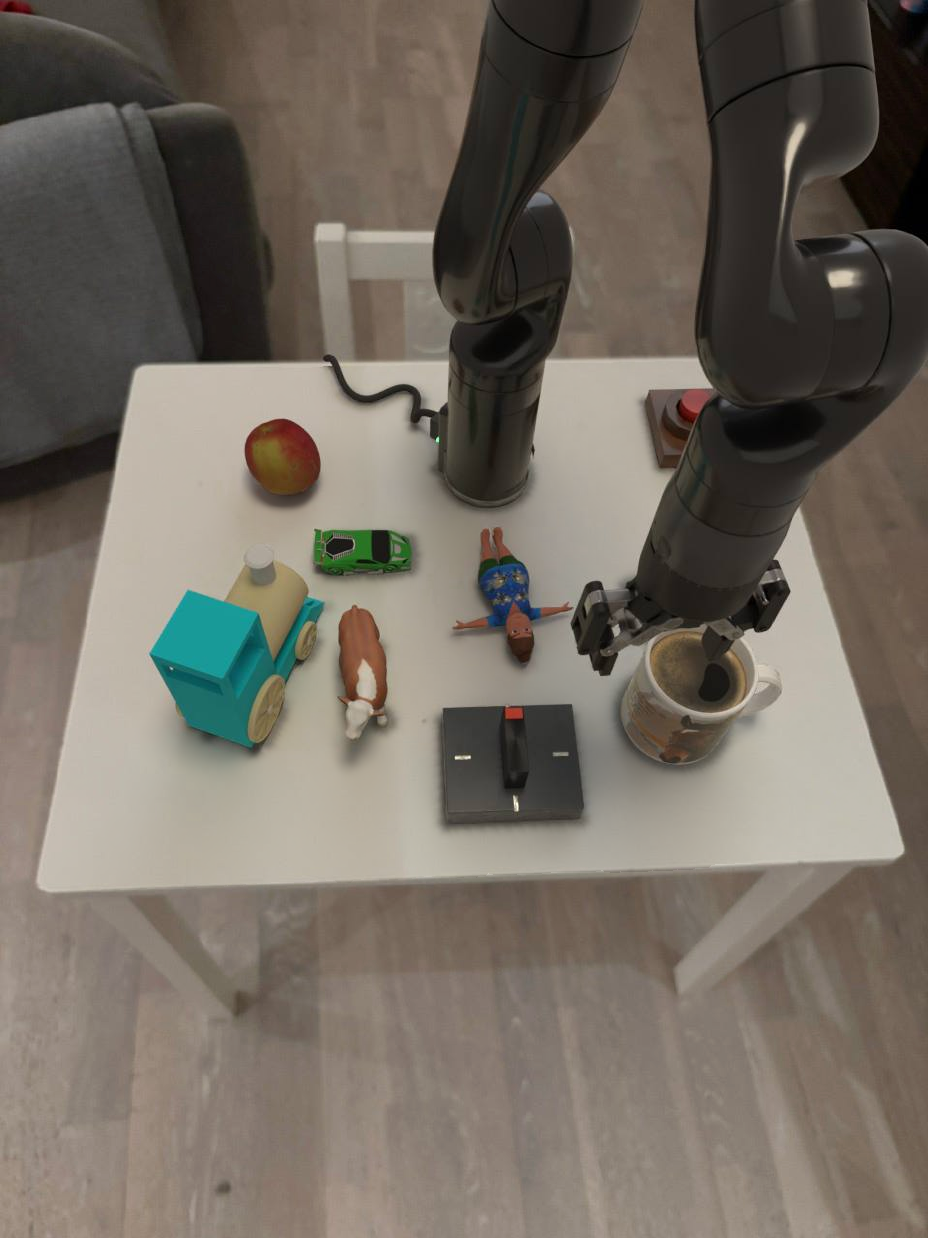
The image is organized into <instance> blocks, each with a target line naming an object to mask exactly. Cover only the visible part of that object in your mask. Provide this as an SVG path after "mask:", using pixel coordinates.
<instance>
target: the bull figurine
mask: <svg viewBox="0 0 928 1238" xmlns="http://www.w3.org/2000/svg"><path fill="white" fill-rule="evenodd" d="M337 630H338V635H337V642H338V645H339V647H340V649H339V650H340V651H339V657H338V666H339V670H340V672H341V676H342V683H343V687H344V695H345V697H344V696H340V695H338V696H337V699H338V700H339V701H340V702H341V703H342V704H343V705H345V706H346V707H347V709H346V710H345V719H346V724H347V725H346V730H345V731H344V736H345V737H346V738H347V739H350V740H352V741H356V740H358V739H360V737H361V735H362V732H363V730H364V728H365V727H366V726H367V724H368V723H369V720H370V718H371V717H376V724H377V726H379V727H381V728H384V727H386V726H387V725H388V723H389V720H388V718H387V715H386V714H387V713H385V710H386V704H385V703H386V701H387V698H388V682H387V678H388V677H387V675H388V673H387V672H388V669H387V667H388V666H387V656H386V653H385V650H384V647H383V645H382V644H381V642H380V641H379V640H380V637H381V632H380V629H379V627H378V625H377V623H376V620H375V618H374V616H373V615H372V613H371V612H370V611H369V610H368V609H365V608H363V607H360V608H359V607H358V605H357V604H353V605H351V609H348V610H345V611H344V612H343V613H342V614H341V617H340V620H339V623H338V629H337Z"/></svg>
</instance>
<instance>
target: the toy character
mask: <svg viewBox="0 0 928 1238" xmlns="http://www.w3.org/2000/svg"><path fill="white" fill-rule="evenodd" d="M503 539H504V533H503V530H502V528H501V526H495V527H493V530H492V542H493V544H494V546H495V549H496V554H497V557H496V556H495V553H494V551H493V549H492V546H491V531H490V529H489V528H486V527H485V528H484V529H482V530H481V531H480V544H481V547H482V548H481V549H482V550H481V555H480V562H479V568H478V574H477V582H478V586H479V589H480V590H481V592H482V594H483V596H484V597H485V599H486V600H488V601H489V602H490V604H491V607H492V614H491V615H487V616H484V617H483V616H482V617H480V618H477V619H473V620H471V621H468V622H462V621H459V620H457V619H456V620H455V622H456V624H458V625H455V626H453V627H452V631H460V630H465V629H469V630H470V629H481V628H482V629H483V628H495V627H496V628H499V627H506V634H507V635H506V641H507V644H508V647H509V649H510V652H511V654H512V656H514V657H515V658H516V660H517V661H518V663H520V664H527V663H529V662H530V660H531V657H532V653H533V650H534V647H535V636H534V632H533V629H532V626H531V622H533V621H536V620H539V619H543V618H546V617H551V616H555V615H559V614H560V613H567V612H570V611H572V610H574V608H575V607H574V606H568V605H569V604H570V601H567V602H566V603H565V604H563V605H562V606H554V607H553V606H547V607H546V606H545V607H532V606H531V603H530V597H529V589H530V575H529V570H528V568H527V567H526V565H525V564H524V562H523V561H520V560H518V559H517V558H516V556H514V554H513V553H512V552H511V551H510V550H509V548H508V547H507V545H506V544H504V540H503Z"/></svg>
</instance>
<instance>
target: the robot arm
mask: <svg viewBox="0 0 928 1238" xmlns="http://www.w3.org/2000/svg"><path fill="white" fill-rule="evenodd" d="M644 3H645V0H487V3H486V7H485V8H486V9H485V14H484V19H483V23H482V29H481V36H480V37H481V38H480V43H479V49H478V56H477V63H476V71H475V76H474V81H473V85H472V89H471V90H472V91H471V94H470V99H469V105H468V110H467V113H466V118H465V123H464V126H463V132H462V135H461V140H460V144H459V148H458V153H457V155H456V160H455V163H454V166H453V169H452V173H451V176H450V179H449V182H448V186H447V189H446V191H445V194H444V198H443V200H442V204H441V208H440V210H439V213H438V217H437V221H436V224H435V228H434V234H433V240H432V248H431V249H432V250H431V254H432V255H431V265H432V276H433V281H434V285H435V288H436V289H435V290H436V292H437V295H438V298H439V300H440V302H441V304H442V305H443V307H444V309H445V310H446V311H447V312H448V314H449V315H450V316H451V317H452V318H454V319H455V320H456V321H455V323H454V325H453V326H452V329H451V332H450V334H449V335H450V336H449V341H448V342H449V343H448V371H447V372H448V373H447V376H448V377H447V378H448V379H447V401H446V402H445V403H444V404H443V405H442V406H441V407H440V408H439V411H436V410H433V409H430V408H421V406H422V395H421V393H420V391H419V390H418V389H417V387H415V386H414V385H411V384H408V383H400V384H394V385H392V386H390V387H388V388H386V389H383V390H381V391H379V392H375V393H374V394H369V395H364V394H360V393H358V392H356V391H355V390H353V389H352V388H351V387H350V385H349V384H348V382H347V381H346V378H345V376H344V373H343V370H342V368H341V366H340V363H339V361H338V359H337V358H336V356H335V355H332V354H330V353H329V354H325V355H323V357H322V360H323V361H324V362H327V363H329V364H331V367H332V369H333V370H332V371H333V372H334V375H335V378H336V380H337V383H338V384H339V386H340V388H341V389H342V391H343V392H344V393H345V394H346V395H347V397H349V398H350V399H352V400H353V401H355V402H357V403H362V404H372V403H376V402H379V401H382V400H383V399H386V398H389V397H391V396H393V395H396V394H398V393H402V392H405V393H409V394H410V395H412V398H413V403H412V408H411V412H410V421H411V423H413V424H419V422H420V421H421V419H422V417H426V418H430V419H429V437H430V438H431V439H432V440H434V441H435V442H437V470H438V472H440V473H442V474H443V478H444V481H445V483H446V486H447V487H448V489H449V490H450V492H451V493H452V494H453V495H454V496H455V497H457V498H458V499H459V500H461V501H463V502H465V503H466V504H469V505H473V506H477V507H481V508H495V507H499V506H503V505H506V504H508V503H511V502H512V501H514V500H516V499H517V498H518V497H520V495H521V494H522V493H523V492H524V490H525V488H526V487H527V484H528V480H529V473H530V462H531V456H532V459H534V458H535V451H536V449H535V445H534V438H535V432H536V425H537V419H538V414H539V406H540V401H541V400H540V399H541V394H542V386H543V381H544V380H543V379H544V374H545V368H546V361H547V359H548V357H549V356H550V355H551V353H552V352H553V350H554V349H555V346H556V344H557V342H558V337H559V334H560V330H561V325H562V320H563V317H564V316H563V315H564V313H565V308H566V304H567V299H568V295H569V291H570V285H571V282H572V274H573V263H574V250H573V239H572V233H571V230H570V224H569V222H568V219H567V216H566V215H565V212H564V210H563V208H562V207H561V205H560V203H559V202H558V201H557V199H555V197H553V195H551V194H550V193H549V192H547V191H546V190H544V189H542V188H541V187H542V186H543V185H544V183H545V182H546V181H547V180H548V179H549V177H550V176H551V175H552V174H553V173H554V172H555V171H556V169H557V168H558V167H559V166H560V165H561V164H562V162H563V161H564V160H565V159H566V158H567V157H568V156H569V155H570V153H571V152H572V151H573V150H574V149H575V147H576V146H577V145H578V144H579V142H580V141H581V140H582V139H583V138H584V136H585V135H586V134H587V133H588V131H589V130H590V128H592V126H593V124H594V123H595V122H596V120H597V119H598V117H599V116H600V114H601V113H602V112H603V110H604V108H605V107H606V105H607V103H608V102H609V99H610V97H611V96H612V93H613V91H614V89H615V86H616V84H617V81H618V79H619V77H620V73H621V71H622V68H623V66H624V63H625V59H626V57H627V54H628V51H629V48H630V45H631V42H632V40H633V37H634V34H635V31H636V28H637V26H638V23H639V20H640V18H641V17H640V16H641V14H642V11H643V7H644ZM693 3H694V4H693V5H694V9H693V16H694V17H693V25H694V26H693V28H694V42H695V51H696V57H697V65H698V72H699V81H700V89H701V94H702V103H703V104H702V105H703V109H704V110H703V111H704V117H705V118H704V119H705V125H706V130H707V131H706V132H707V139H708V140H707V141H708V146H709V157H710V162H709V164H710V165H709V185H708V196H707V197H708V199H707V212H706V213H707V214H706V222H705V223H706V224H705V233H704V234H705V235H704V244H703V251H702V252H703V253H702V260H701V266H700V274H699V280H698V286H697V294H696V302H695V311H694V324H693V325H694V328H693V330H694V332H693V333H694V343H695V350H696V355H697V359H698V362H699V365H700V367H701V370H702V372H703V374H704V377H705V378H706V380H707V381H708V382H709V384H710V386H711V388H714V389H715V391H716V392H715V393H714V394H713V395H712V396H711V397H710V398H709V399H708V400H707V401H706V402H705V403H704V405H703V406H702V408H701V410H700V412H699V413H698V416H697V418H696V420H695V422H694V424H693V427H692V429H691V432H690V434H689V437H688V440H687V442H686V445H685V448H684V450H683V453H682V456H681V458H680V461H679V464H678V466H677V467H676V469H675V471H674V472H673V473H672V475H671V477H670V478H669V480H668V482H667V484H666V486H665V487H664V490H663V492H662V494H661V497H660V500H659V503H658V505H657V508H656V511H655V514H654V516H653V519H652V522H651V524H650V527H649V531H648V532H647V536H646V538H645V541H644V544H643V546H642V549H641V552H640V555H639V559H638V564H637V571H636V575H635V576H634V577H633V578H632V580H629V581H630V582H629V581H628V582H629V583H628V584H627V585H626V584H625V586H624V588H618V589H607V590H606V589H604V585H603V582H602V581H600V580H592V581H589V582H587V583H585V586H584V588H583V590H582V593H581V595H580V597H579V600H578V603H577V605H576V608H575V611H574V613H573V615H572V618H571V621H570V628H571V630H572V632H573V636H574V641H575V644H576V652H577V654H578V655H579V656H589V660H590V664H591V668H592V670H593V672H598V675H599V677H608V676H611V675H612V672H613V669H614V667H615V665H616V662H617V659H618V657H619V652H620V651H622V650H624V649H625V648H627V647H628V646H630V645H632V646H635V647H640V646H642V645H644V644H646V643H648V642H649V640H650V639H652V638H654V637H655V636H657V635H658V634H660V633H662V632H666V631H671V630H675V629H679V628H686V629H690V628H698V627H700V626H701V625H702V624H705V625H706V626H708V627H707V628H706V630H705V632H704V634H703V636H702V645H703V648H704V651H705V654H706V657H707V660H708V661H709V662H714V661H719V660H720V658H721V656H722V655H723V654H725V653H726V652H728V651H729V649H730V648H731V646H732V644H733V643H734V641H735V640H736V639H739V638H741V637H743V638H744V636H745V632H747V631H748V630H752V629H753V632H754V633H757V634H760V633H765V632H767V631H769V630H770V629H771V628H772V626H773V624H774V623H775V621H776V619H777V617H778V616H779V613H780V612H781V610H782V608H783V606H784V605H785V603H786V601H787V599H788V597H790V594H791V592H792V591H791V589H790V586H789V584H788V581H787V578H786V576H785V574H784V571H783V569H782V566H781V563H780V561H779V560H778V559H775V557H776V555H777V554H778V552H779V551H780V549H781V547H782V546H783V543H784V541H785V539H786V538H787V536H788V533H789V530H790V527H791V524H792V521H793V519H794V516H795V514H796V513H797V511H798V509H799V507H800V505H801V504H802V502H803V501H804V499H805V497H806V495H807V493H808V492H809V491H810V489H811V487H812V485H813V483H814V482H815V480H816V478H817V476H818V474H819V472H820V471H821V469H823V467H825V466H826V465H827V464H828V463H829V462H830V461H832V460H833V459H834V458H836V457H837V456H838V455H840V454H841V453H842V452H843V451H845V449H847V448H848V447H849V446H850V445H851V444H852V443H853V442H854V441H855V440H856V439H857V438H858V437H859V436H860V435H861V434H862V433H864V432H865V431H866V430H867V429H868V428H869V427H870V426H871V425H872V424H873V423H875V421H877V420H878V419H879V417H881V416H882V415H883V414H884V413H885V412H886V411H887V410H888V409H889V408H890V407H891V406H892V405H893V404H894V403H895V402H896V401H897V400H898V399H899V398H900V396H902V395H903V394H904V392H905V391H906V390H907V389H908V388H909V386H910V385H911V384H912V383H913V381H914V380H916V377H918V375H919V374H920V372H921V371H922V369H923V367H924V366H925V364H926V363H927V361H928V245H927V244H926V243H925V242H924V241H923V240H922V239H920V238H919V237H917V236H915V235H913V234H911V233H908V232H906V231H902V230H899V229H889V228H873V229H864V230H857V231H849V232H843V233H836V234H829V235H828V234H827V235H822V236H821V235H820V236H815V237H809V238H801V239H795V240H794V233H793V219H794V215H795V210H796V205H797V202H798V199H799V195H800V194H804V193H806V192H809V191H812V190H814V189H817V188H819V187H823V186H824V185H826V184H829V183H831V182H833V181H835V180H837V179H840V178H841V177H844V176H845V175H846V174H848V173H849V172H851V171H853V170H855V169H856V168H857V167H859V166H860V165H861V164H862V163H863V162H864V161H865V160H866V159H867V157H868V156H869V155H870V154H871V152H872V151H873V149H874V148H875V147H874V146H875V145H876V142H877V139H878V134H879V129H880V127H879V126H880V107H879V106H880V105H879V95H878V88H877V80H876V68H875V67H876V66H875V59H874V57H875V56H874V49H873V41H872V32H871V22H870V13H869V7H868V0H694V2H693ZM637 619H638V621H640V622H641V623H642V624H643V625H642V626H641V627H639V624H638V621H637ZM617 625H618V627H619V633H618V634H617V635H616V636H615V634H614V630H613V628H615V627H616V626H617Z"/></svg>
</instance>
